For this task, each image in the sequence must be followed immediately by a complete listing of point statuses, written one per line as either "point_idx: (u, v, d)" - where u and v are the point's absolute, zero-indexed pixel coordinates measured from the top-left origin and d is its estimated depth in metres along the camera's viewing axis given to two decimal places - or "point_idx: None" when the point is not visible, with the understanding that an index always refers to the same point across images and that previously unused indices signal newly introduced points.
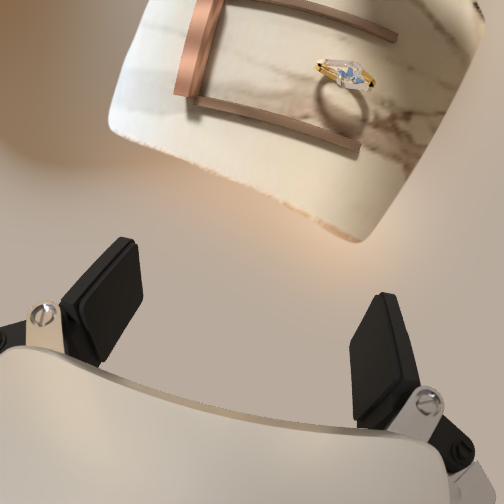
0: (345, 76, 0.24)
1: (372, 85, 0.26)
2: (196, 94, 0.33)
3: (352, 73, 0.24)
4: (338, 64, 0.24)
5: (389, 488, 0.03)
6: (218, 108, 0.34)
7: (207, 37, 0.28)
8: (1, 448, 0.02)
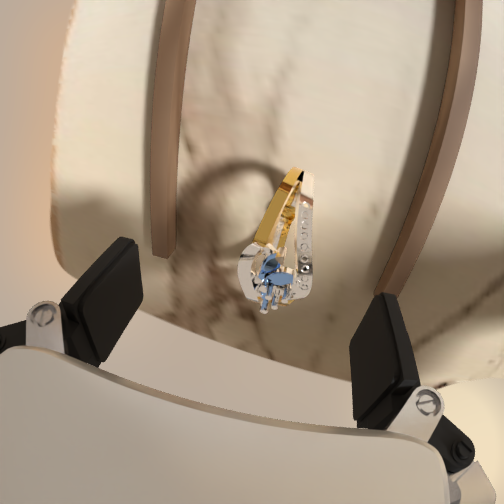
0: (266, 270, 0.12)
1: None
2: None
3: (278, 285, 0.12)
4: (297, 250, 0.11)
5: (389, 488, 0.03)
6: None
7: None
8: (1, 448, 0.02)
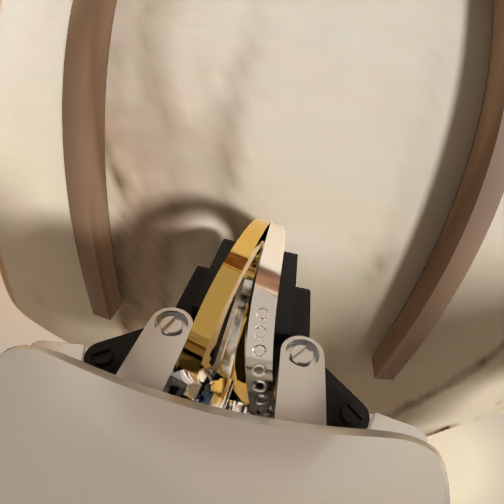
0: None
1: None
2: None
3: None
4: (248, 390, 0.06)
5: (389, 488, 0.03)
6: None
7: None
8: (1, 448, 0.02)
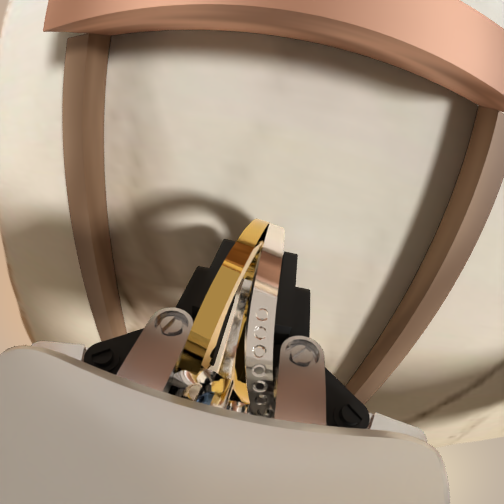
0: None
1: None
2: (99, 33, 0.07)
3: None
4: (249, 391, 0.06)
5: (389, 488, 0.03)
6: (65, 117, 0.09)
7: (319, 31, 0.06)
8: (1, 448, 0.02)
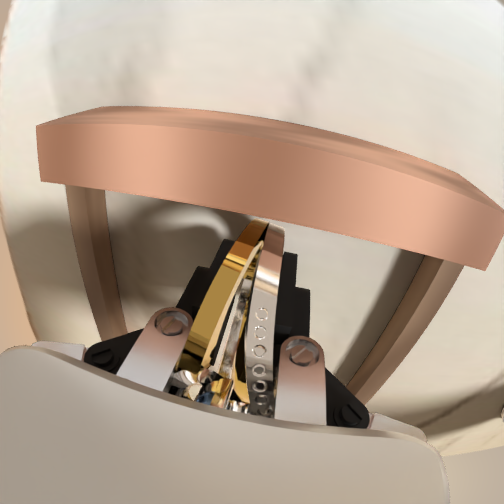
0: None
1: None
2: None
3: None
4: (249, 390, 0.06)
5: (389, 488, 0.03)
6: (74, 228, 0.12)
7: None
8: (1, 448, 0.02)
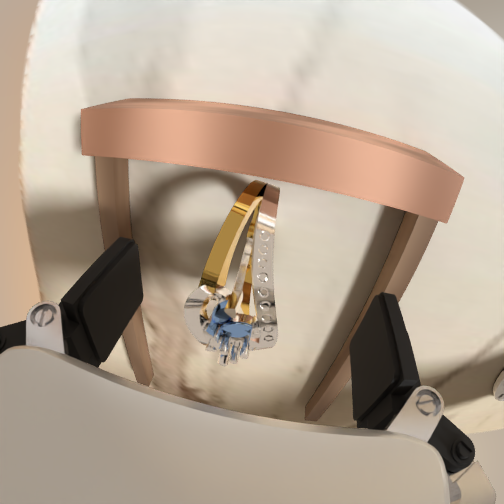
0: (218, 321, 0.09)
1: None
2: None
3: (235, 336, 0.09)
4: (255, 297, 0.09)
5: (389, 488, 0.03)
6: (100, 202, 0.14)
7: None
8: (1, 448, 0.02)
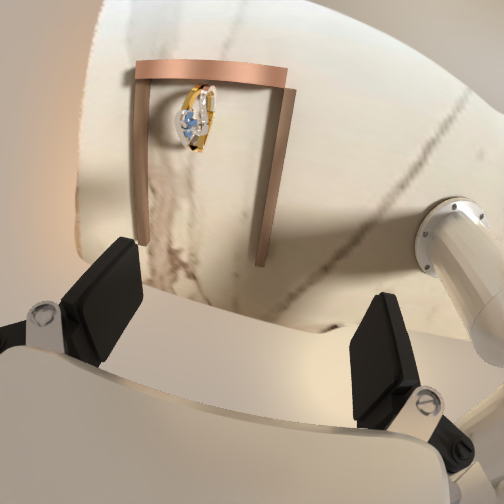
0: (186, 119, 0.23)
1: None
2: (148, 78, 0.26)
3: (193, 125, 0.23)
4: (200, 108, 0.23)
5: (389, 488, 0.03)
6: (135, 107, 0.28)
7: None
8: (1, 448, 0.02)
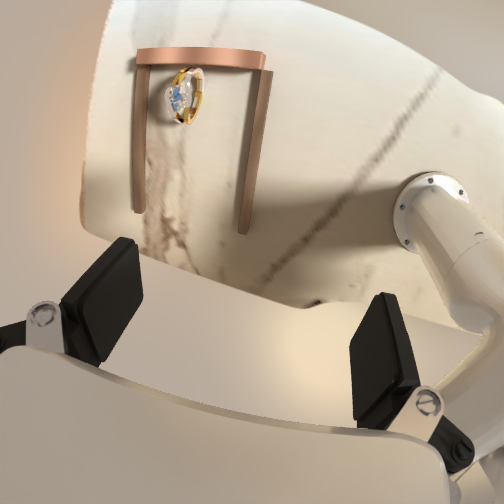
0: (174, 93, 0.26)
1: None
2: (148, 64, 0.30)
3: (179, 98, 0.26)
4: (185, 85, 0.26)
5: (389, 488, 0.03)
6: (136, 89, 0.32)
7: (203, 64, 0.28)
8: (1, 448, 0.02)
